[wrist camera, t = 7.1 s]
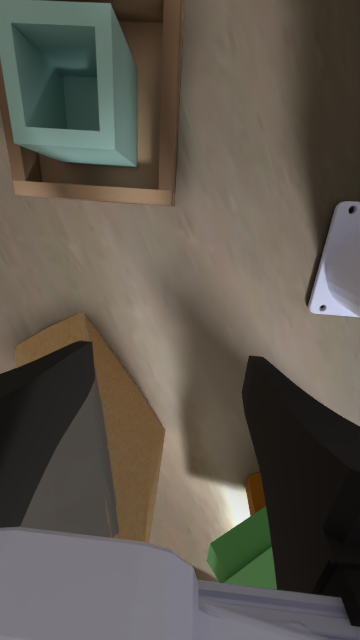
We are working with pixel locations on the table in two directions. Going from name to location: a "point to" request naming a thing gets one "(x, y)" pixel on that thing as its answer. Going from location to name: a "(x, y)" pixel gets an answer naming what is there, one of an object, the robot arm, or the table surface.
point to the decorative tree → (246, 546)
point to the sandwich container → (98, 449)
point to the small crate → (70, 81)
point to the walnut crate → (153, 119)
